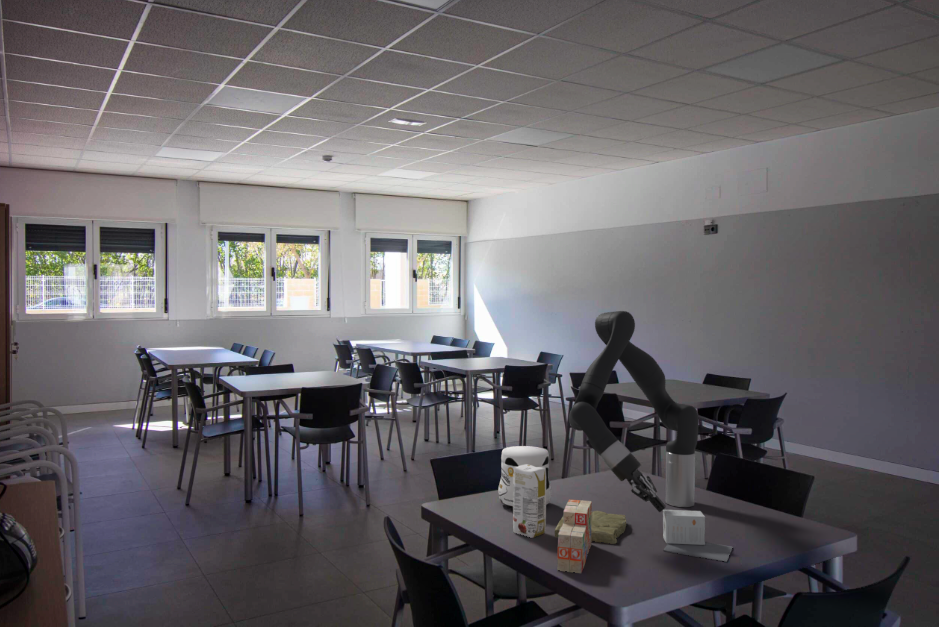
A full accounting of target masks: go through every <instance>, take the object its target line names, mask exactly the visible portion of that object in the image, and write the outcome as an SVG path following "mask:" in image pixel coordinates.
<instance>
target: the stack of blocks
mask: <svg viewBox="0 0 939 627" xmlns="http://www.w3.org/2000/svg"><path fill="white" fill-rule="evenodd" d="M591 512H593V511H592V501H591V500H582V499H581V500H579V499H568V501H567V503H566V505H565V506H564V509H563V515H562V517H563V525H562V527H561V528H560V531H559V534H558V538H557V552H556V553H557V555H556V556H557V560H556V563H557V565H556V567H557V568H556V570H557V571H558V570H560V571H559V572H565V571H567V572H566V573H573V572H575V574H582V573H583V569H584V568H585V564H586V561H587V558H588V555H587V554H589V552H590V550H589V549H591V546H592V541H591V518H592V513H591Z"/></svg>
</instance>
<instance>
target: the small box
mask: <svg viewBox="0 0 939 627" xmlns="http://www.w3.org/2000/svg"><path fill="white" fill-rule="evenodd" d="M662 527H663V528H662V530H663V532H662V533H663V534H662V538H663V540H664V541H665V544H690V545H705V542H706V541H705V540H706V538H705V536H706V534H705V532H706V529H705V528H706V516H705V515H704V514H703V512H702V511H701V510H685V509H683V510H680V509H664V510H662Z"/></svg>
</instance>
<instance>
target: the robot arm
mask: <svg viewBox="0 0 939 627" xmlns="http://www.w3.org/2000/svg"><path fill="white" fill-rule="evenodd" d="M594 327H595V332H596V334H597V335H598V337H599V339H600V340H601V341H602V342H603V343H604V345H606V346H605V347H604V348H603V350H602V351H601V352H600V354H598V356H596V358H595V359H594V360H593V361H592V362H591V363H590V365H589V367H588V368H587V370H586V371H585V374H584V376H583V379H582V381H581V383H580V386H579V391H578V394H577V396H576V398H575V400H574V403H573V405H572V406H571V407H572V408H571V409H570V412H569V414H568V422H569V425H570V427H571V428H572V429H573V430H575V431H579V432H581V431H582V432H583V433H584V434H585V436H587V438H588V443H589V444H590V446H591V447H592V448H593V449H594V451H595V452H596V453H597V454H598V455H599V456H600V458H601V459H602V461H603V462H604V464H605V465H606V466H607V468H609V469H610V471H611V472H612V473H613V474H614V475H615V477H617V479H618V480H619V481H620V482H624V481H625V480H626V481H627V482H628V484H629V485H630V487H631V488H632V489H630V491H631V493H632V494H633V495H635V496H637V497H638V498H640V499H641V500H643V501H644V502H648V503H651V505H652V506H653V507H654V508H655V509H656V510H657V511H658V512H659V513H661V512H663V510H666V504H667V505H670V506H673V507H676V508H677V507H678V508H690V507H694V506H695V488H696V486H695V484H696V483H695V480H696V479H695V478H696V475H695V474H696V471H695V470H696V469H695V468H696V462H695V461H696V459H695V458H696V448H697V445H698V439H699V438H698V436H699V425H700V424H699V422H700V421H699V413H698V411H697V409H696V407H695V406H692V405H689V404H685V403H679V402H676V401H674V399H672V397H671V396H670V394H669V393H668V391H667V390H666V375H665V373H664V371H663V369H662V368H661V367H660V365H659V363H658V362H657V361H656V360H655V358H654V357H653V356H652V355H651V354H649V353H647V352H646V351H645V350H643V349H641V348H640V347H638V346H637V345H635V344H633V343H632V342H631V339H632V337H633V335H634V332H635V328H636V322H635V319H634V316H633V315H632V314H631V313H630V312H628V311H626V310H618V311H616V310H615V311H609V312H604V313H600V314H598V315H597V317H596V318H595V321H594ZM618 361H619V362H620V364H622V366H623V367H624V368H625V369H626V371H627V373H629V375H630V376H631V378H632V380H633V381H634V382H635V384H636V385H637V386H638V387H639V389H640V390H641V391H642V393H643V395H644V396H645V397H646V398H647V400H648V402H649V403H650V404H651V406H652V407H653V409H654V411H655V412H656V414H657V416H658V419H659V420H660V422H661V423H662V424H663V426H664V427H665V428H667V429H668V430H671V431H674V432H676V437H675V439H674V440H670V441H668V442H666V444H665V447H666V448H665V502H663V501H662V500H661V499H660V497H659V496H658V490H657V488H656V486H655V484H654V483H653V480H652V479H651V477H650V476H649V475H647V476H646V475H645V474H644V473H642V472H641V471H640V470H639V468H640V467H641V466H642V464H641V463H640V461H639V460H638V459H637V458H636V457H635V456H634V455H633V454H632V452H631V451H630V450H629V449H628V448H627V447H626V446H625V444H624V443H622V442H621V441H620V440H619V439H618V438H617V437H616V436H615V435H614V433H613V432H612V431H611V430H610V429H609V428H608V427H607V425H606V423H605V422H604V420H603V418H602V417H601V415H600V414H599V413H598V411H597V407H598V404H599V403H600V401H601V399H602V397H603V395H604V393H605V391H606V387H607V384H608V382H609V379H610V377H611V374H612V372H613V371H614V368H615V367H616V365H617V363H618Z"/></svg>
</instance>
